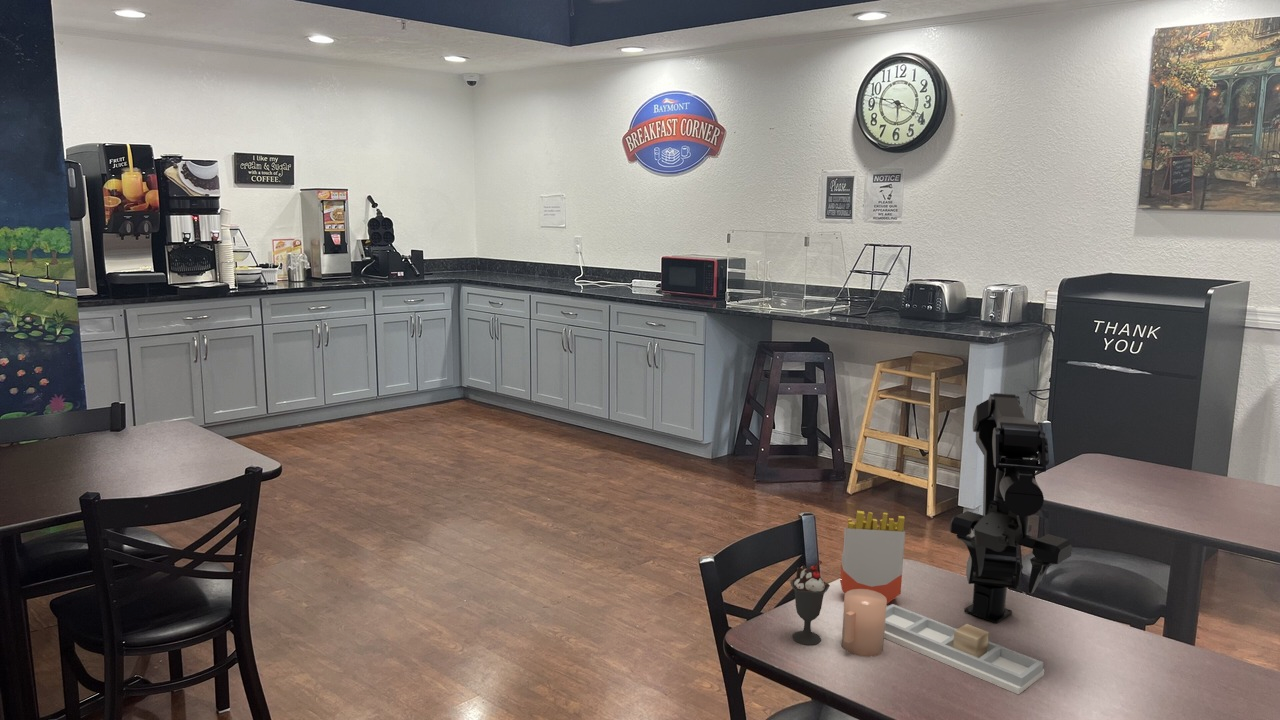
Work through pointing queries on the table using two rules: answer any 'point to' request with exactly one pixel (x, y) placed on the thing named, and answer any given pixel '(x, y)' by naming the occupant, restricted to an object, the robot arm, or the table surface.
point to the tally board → (938, 644)
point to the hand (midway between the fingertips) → (1004, 584)
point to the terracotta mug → (864, 622)
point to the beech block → (971, 640)
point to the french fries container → (873, 555)
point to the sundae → (808, 601)
